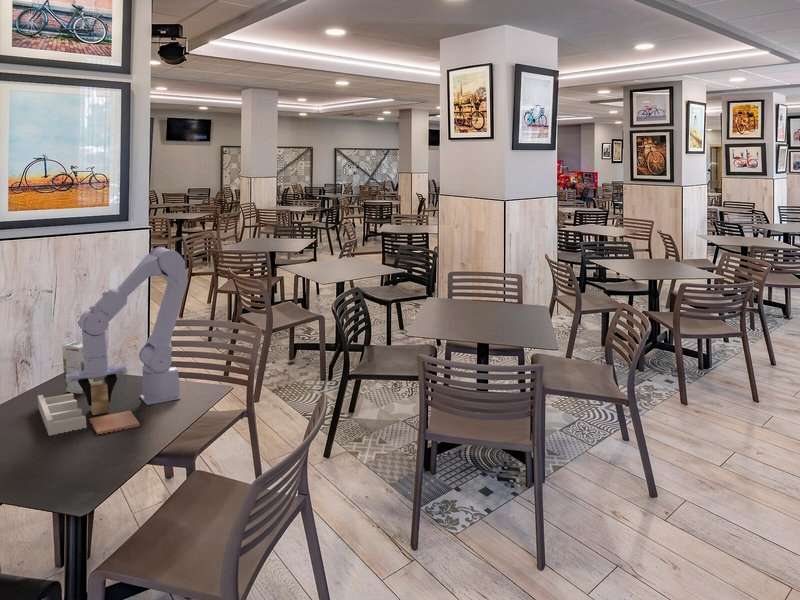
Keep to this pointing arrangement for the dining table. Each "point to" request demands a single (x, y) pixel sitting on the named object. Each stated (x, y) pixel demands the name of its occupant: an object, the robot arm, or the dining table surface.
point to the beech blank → (99, 397)
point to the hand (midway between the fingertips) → (99, 402)
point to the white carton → (73, 365)
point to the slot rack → (61, 414)
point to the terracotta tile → (114, 422)
